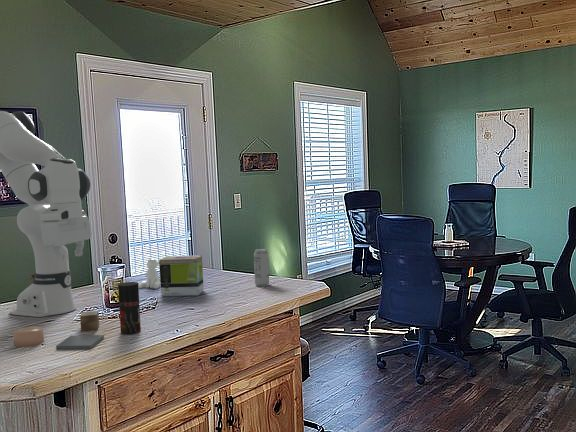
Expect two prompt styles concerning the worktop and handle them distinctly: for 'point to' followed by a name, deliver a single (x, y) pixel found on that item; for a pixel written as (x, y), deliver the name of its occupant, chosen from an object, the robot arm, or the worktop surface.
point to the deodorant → (129, 308)
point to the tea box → (181, 275)
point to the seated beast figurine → (151, 276)
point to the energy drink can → (261, 267)
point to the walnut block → (89, 321)
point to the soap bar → (28, 336)
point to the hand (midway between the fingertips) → (70, 258)
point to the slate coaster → (80, 342)
